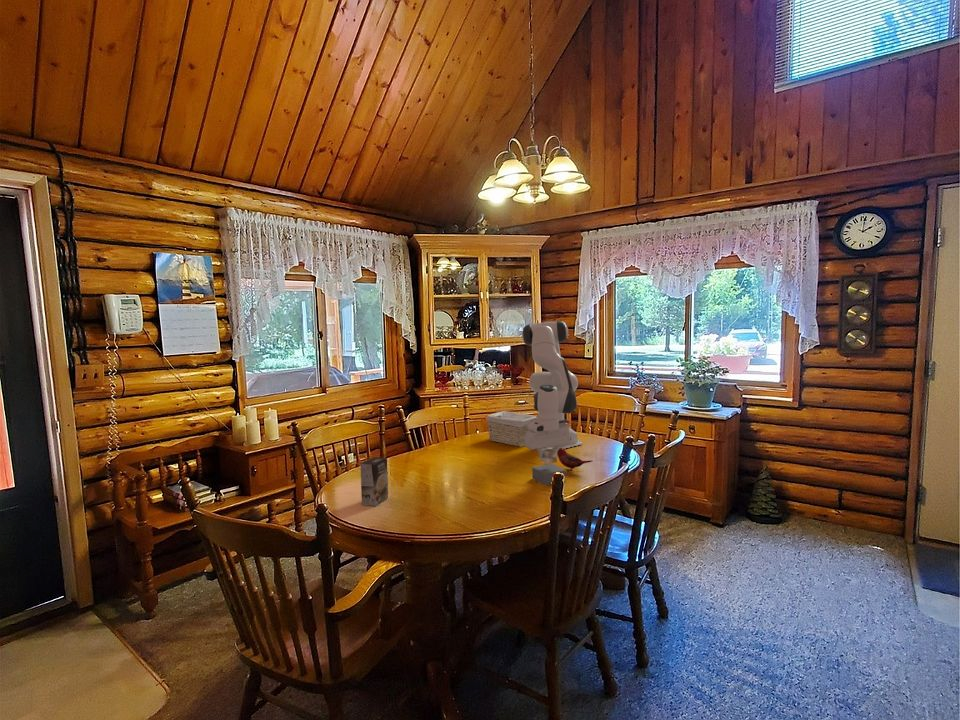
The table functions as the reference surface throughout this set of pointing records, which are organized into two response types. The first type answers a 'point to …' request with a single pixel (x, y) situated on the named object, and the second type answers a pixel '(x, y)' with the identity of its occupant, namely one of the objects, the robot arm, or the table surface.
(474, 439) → the table surface
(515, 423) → the storage basket
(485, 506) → the table surface
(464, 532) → the table surface
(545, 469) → the grey block
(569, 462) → the decorative bird figurine
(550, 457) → the cream cube
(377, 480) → the coffee box
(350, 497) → the table surface
